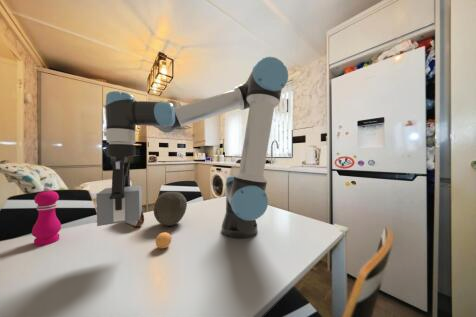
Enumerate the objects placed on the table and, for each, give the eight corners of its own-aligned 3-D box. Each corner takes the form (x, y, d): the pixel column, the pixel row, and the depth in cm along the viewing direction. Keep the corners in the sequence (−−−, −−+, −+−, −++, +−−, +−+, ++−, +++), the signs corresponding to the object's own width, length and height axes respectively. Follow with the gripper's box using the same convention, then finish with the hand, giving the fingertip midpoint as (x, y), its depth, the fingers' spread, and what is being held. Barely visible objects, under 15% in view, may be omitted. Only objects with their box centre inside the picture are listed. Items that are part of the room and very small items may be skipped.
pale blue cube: (141, 210, 62) (141, 185, 62) (139, 219, 53) (139, 190, 52) (106, 215, 57) (105, 188, 57) (97, 226, 48) (96, 194, 48)
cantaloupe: (186, 228, 76) (186, 194, 76) (150, 232, 72) (151, 196, 72) (186, 217, 90) (186, 188, 90) (156, 220, 86) (156, 189, 86)
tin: (144, 227, 78) (144, 208, 78) (137, 229, 75) (137, 209, 75) (127, 220, 86) (127, 203, 86) (120, 222, 83) (120, 204, 83)
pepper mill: (46, 237, 67) (46, 185, 67) (66, 236, 68) (66, 185, 68) (25, 247, 60) (24, 188, 60) (48, 246, 61) (47, 188, 60)
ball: (163, 227, 63) (152, 239, 61) (163, 232, 58) (152, 246, 57) (173, 235, 64) (163, 247, 63) (175, 241, 60) (164, 254, 58)
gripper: (114, 145, 63) (115, 207, 64) (95, 140, 43) (96, 231, 43) (138, 146, 67) (139, 204, 67) (131, 141, 46) (132, 225, 46)
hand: (122, 215), depth 55 cm, fingers closed on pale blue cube, 10 cm apart
